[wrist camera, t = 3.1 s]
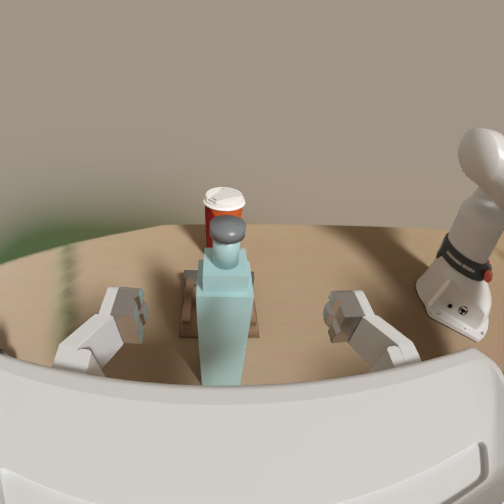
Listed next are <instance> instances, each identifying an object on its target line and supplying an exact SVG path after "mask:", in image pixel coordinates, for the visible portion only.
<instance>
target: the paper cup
mask: <svg viewBox="0 0 504 504" xmlns="http://www.w3.org/2000/svg"><path fill="white" fill-rule="evenodd" d="M203 202H204V204H205V220H206V241H207V248H213V239H212V238H211V237H210V221H211V220H212V219H213V218H214V217H217V216H220V215H233V216H237V217H239V218H241V214H242V208H243V206H244V204H245V200H244V198H243V195H242V193H241V192H240V191H238V190H236V189H233V188H228V187H217V188H213V189H210V190H208V192H207V193H206V195H205V197H204V199H203Z"/></svg>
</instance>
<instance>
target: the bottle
mask: <svg viewBox="0 0 504 504" xmlns="http://www.w3.org/2000/svg"><path fill="white" fill-rule="evenodd" d="M245 229H246V223H245V222H244V221H243V220H242V219H241V218H239V217H237V216H233V215H220V216H217V217H214V218H213V219H212V220H211V221H210V237H211V238H212V239H213V248H204V260H199V264H198V276H197V290H196V307H197V325H198V341H199V355H200V368H201V380H202V385H240V381H241V375H242V369H243V363H244V357H245V351H246V345H247V339H248V332H249V326H250V320H251V314H252V307H253V301H254V293H253V286H252V278H251V271H250V263H249V261H247V256H246V249H240V243H241V241H242V240H243V239H244V237H245Z"/></svg>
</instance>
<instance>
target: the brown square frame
mask: <svg viewBox="0 0 504 504" xmlns="http://www.w3.org/2000/svg"><path fill="white" fill-rule="evenodd" d="M197 276H198V270H184V294H183V303H182V312H181V322H180V333H179V337H198V325H197V307H196V290H197ZM251 278H252V286H253V283H254V272H251ZM248 338H259V330H258V323H257V315H256V308H255V301H253V307H252V314H251V320H250V326H249V332H248Z"/></svg>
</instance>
